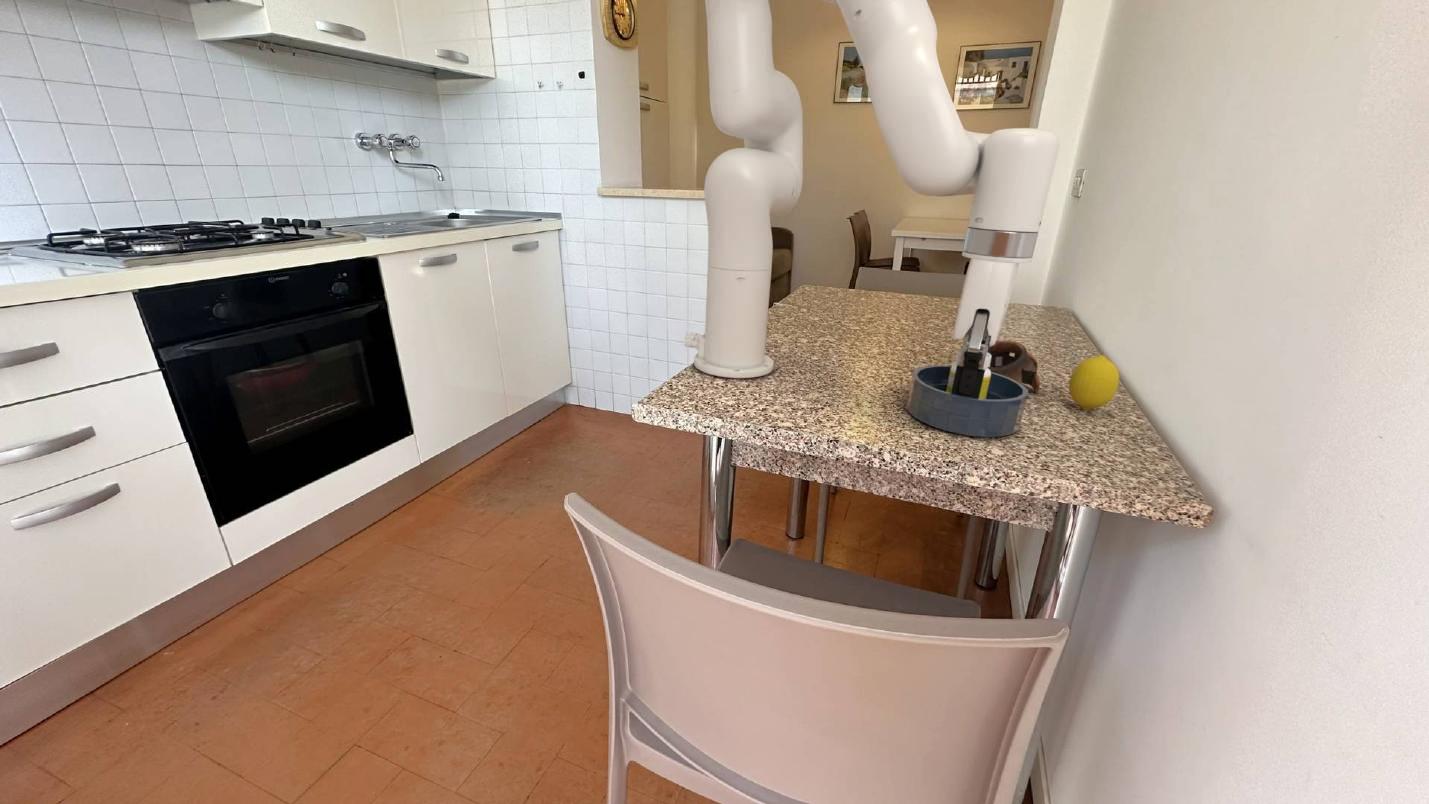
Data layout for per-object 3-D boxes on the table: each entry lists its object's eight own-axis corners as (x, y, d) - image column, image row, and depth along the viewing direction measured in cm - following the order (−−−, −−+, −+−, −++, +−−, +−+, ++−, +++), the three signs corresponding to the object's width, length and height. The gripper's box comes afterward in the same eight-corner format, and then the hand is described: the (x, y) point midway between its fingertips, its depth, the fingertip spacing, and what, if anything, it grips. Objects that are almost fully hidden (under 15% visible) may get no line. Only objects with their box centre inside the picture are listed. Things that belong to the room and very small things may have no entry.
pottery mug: (1053, 404, 82) (1045, 359, 78) (984, 423, 85) (973, 381, 81) (1023, 360, 92) (1015, 318, 88) (963, 379, 95) (952, 339, 91)
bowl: (897, 423, 72) (904, 386, 70) (915, 392, 83) (921, 359, 81) (1017, 449, 66) (1027, 409, 64) (1019, 412, 78) (1028, 377, 76)
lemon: (1082, 402, 83) (1098, 348, 80) (1118, 416, 78) (1137, 360, 75) (1053, 404, 81) (1068, 350, 78) (1087, 420, 76) (1105, 362, 73)
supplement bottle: (976, 410, 76) (990, 349, 73) (985, 423, 72) (1000, 360, 69) (938, 406, 77) (951, 346, 74) (945, 419, 73) (958, 356, 70)
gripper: (970, 238, 75) (943, 369, 82) (956, 248, 61) (925, 406, 68) (1034, 243, 72) (1001, 379, 79) (1035, 255, 58) (994, 420, 65)
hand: (966, 390), depth 73 cm, fingers closed on supplement bottle, 4 cm apart
